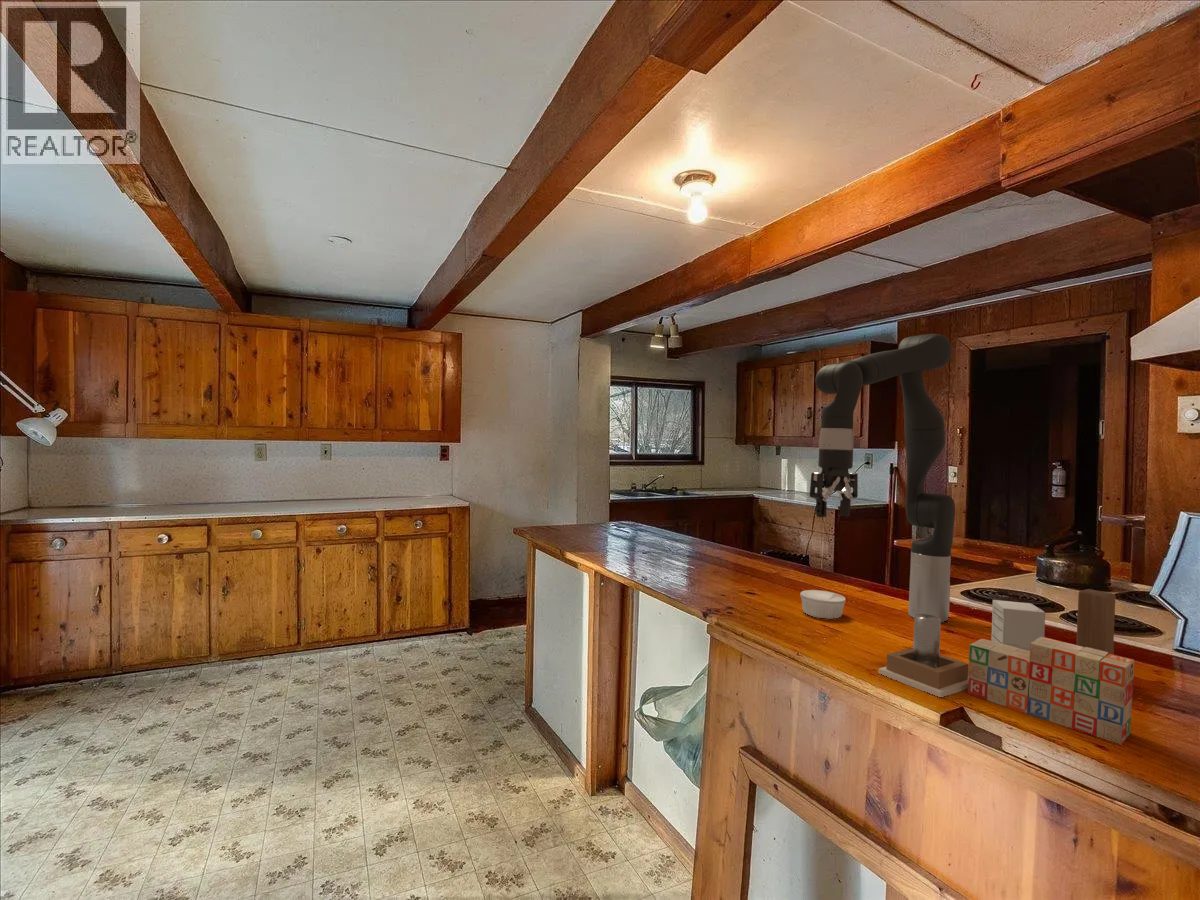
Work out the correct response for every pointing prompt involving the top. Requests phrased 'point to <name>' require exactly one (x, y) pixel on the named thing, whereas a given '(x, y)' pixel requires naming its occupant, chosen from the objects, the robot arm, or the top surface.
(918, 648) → the axle
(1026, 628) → the supplement box
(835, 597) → the ramekin
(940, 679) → the cradle
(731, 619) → the top surface
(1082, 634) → the wooden block
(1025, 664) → the stack of blocks
